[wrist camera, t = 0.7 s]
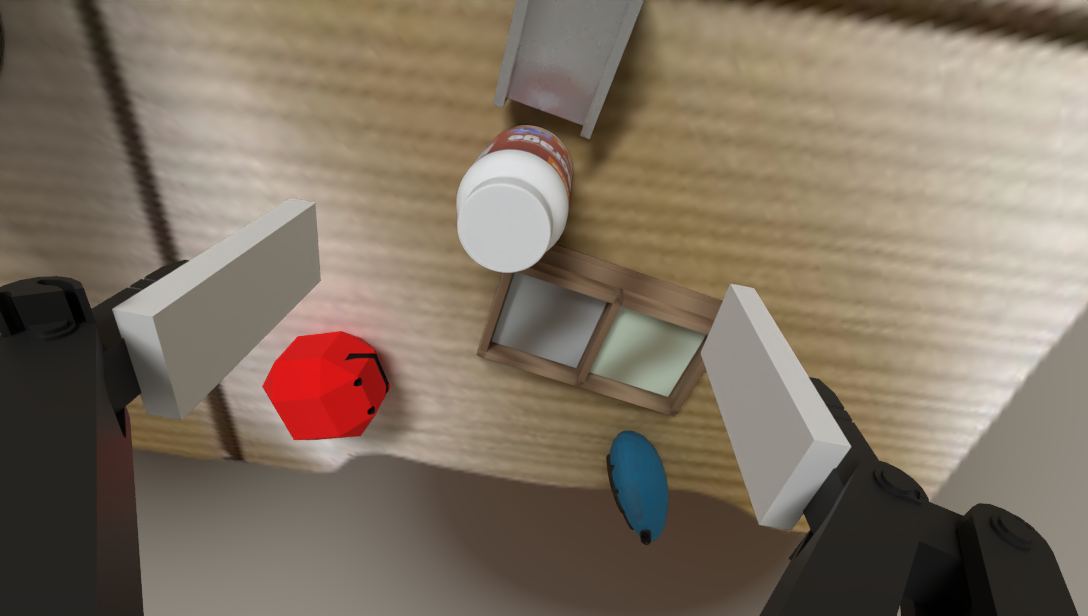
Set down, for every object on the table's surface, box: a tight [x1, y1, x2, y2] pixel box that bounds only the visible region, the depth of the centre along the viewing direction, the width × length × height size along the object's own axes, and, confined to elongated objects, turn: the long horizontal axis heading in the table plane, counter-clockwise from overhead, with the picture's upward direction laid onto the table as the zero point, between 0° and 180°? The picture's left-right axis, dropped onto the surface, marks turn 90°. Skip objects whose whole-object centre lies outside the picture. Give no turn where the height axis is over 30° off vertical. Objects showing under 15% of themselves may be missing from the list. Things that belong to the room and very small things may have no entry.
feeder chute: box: [493, 0, 644, 139], centre depth 27 cm, size 6×8×5 cm
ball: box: [262, 331, 390, 440], centre depth 40 cm, size 8×8×8 cm
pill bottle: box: [457, 125, 573, 273], centre depth 29 cm, size 6×6×11 cm
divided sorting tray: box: [476, 244, 723, 417], centre depth 38 cm, size 17×11×3 cm, turn 72°
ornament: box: [606, 431, 668, 545], centre depth 42 cm, size 8×5×10 cm, turn 25°
